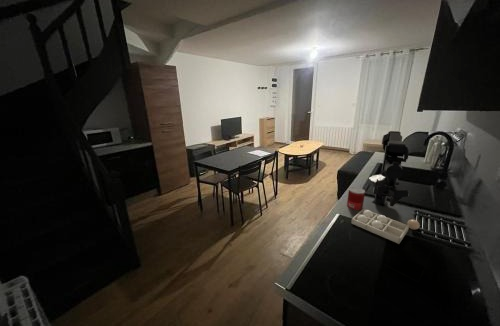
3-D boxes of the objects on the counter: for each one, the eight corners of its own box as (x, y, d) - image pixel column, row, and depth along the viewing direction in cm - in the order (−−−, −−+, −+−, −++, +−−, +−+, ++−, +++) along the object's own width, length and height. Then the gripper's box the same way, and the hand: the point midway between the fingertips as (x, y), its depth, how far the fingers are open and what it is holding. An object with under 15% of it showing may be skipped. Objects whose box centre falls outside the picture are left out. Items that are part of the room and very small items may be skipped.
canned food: (364, 211, 113) (367, 193, 109) (348, 210, 114) (351, 192, 111) (359, 204, 120) (362, 187, 117) (345, 203, 122) (347, 186, 118)
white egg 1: (358, 219, 105) (360, 211, 103) (368, 223, 101) (369, 215, 100) (354, 223, 102) (356, 215, 101) (364, 227, 99) (366, 219, 97)
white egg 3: (372, 225, 100) (374, 217, 99) (383, 229, 97) (385, 221, 95) (369, 229, 97) (370, 220, 96) (379, 233, 94) (381, 225, 92)
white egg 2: (364, 214, 109) (365, 207, 107) (373, 218, 106) (374, 210, 104) (360, 218, 106) (361, 210, 105) (370, 221, 103) (371, 213, 101)
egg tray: (362, 213, 111) (363, 208, 110) (408, 231, 96) (409, 225, 95) (350, 224, 102) (351, 218, 101) (398, 244, 88) (400, 239, 87)
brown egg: (407, 224, 101) (409, 216, 99) (419, 228, 97) (421, 220, 96) (405, 228, 98) (407, 220, 96) (416, 232, 95) (419, 224, 93)
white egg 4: (377, 219, 104) (379, 212, 103) (388, 223, 101) (389, 215, 99) (374, 223, 101) (375, 215, 100) (384, 227, 98) (386, 219, 96)
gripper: (362, 164, 101) (358, 192, 106) (385, 179, 83) (379, 212, 88) (385, 163, 101) (380, 192, 106) (413, 178, 83) (405, 211, 88)
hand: (385, 201), depth 97 cm, fingers open, 9 cm apart
